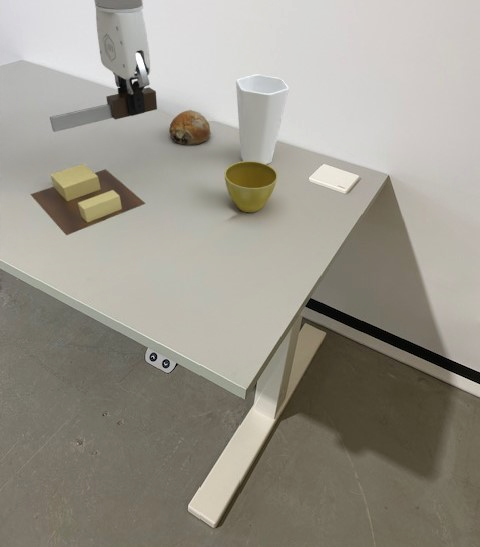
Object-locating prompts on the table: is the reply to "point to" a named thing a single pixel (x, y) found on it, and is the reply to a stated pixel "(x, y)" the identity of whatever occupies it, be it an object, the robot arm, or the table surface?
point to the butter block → (75, 182)
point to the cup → (260, 115)
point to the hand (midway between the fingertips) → (132, 110)
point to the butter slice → (100, 206)
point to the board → (68, 211)
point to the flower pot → (250, 184)
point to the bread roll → (189, 128)
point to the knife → (102, 111)
